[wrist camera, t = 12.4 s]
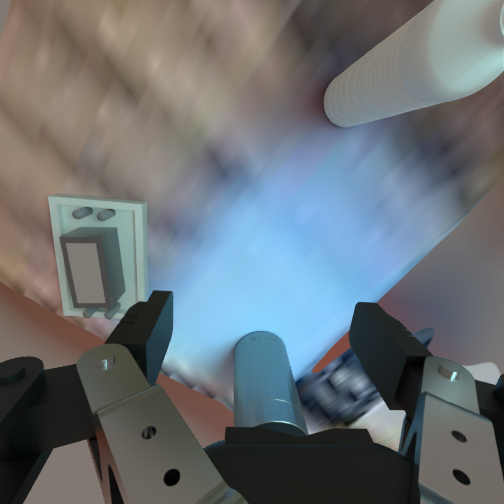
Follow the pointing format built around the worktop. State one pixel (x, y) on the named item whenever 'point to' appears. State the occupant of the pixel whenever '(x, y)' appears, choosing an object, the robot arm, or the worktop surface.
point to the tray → (130, 241)
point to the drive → (93, 266)
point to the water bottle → (422, 63)
